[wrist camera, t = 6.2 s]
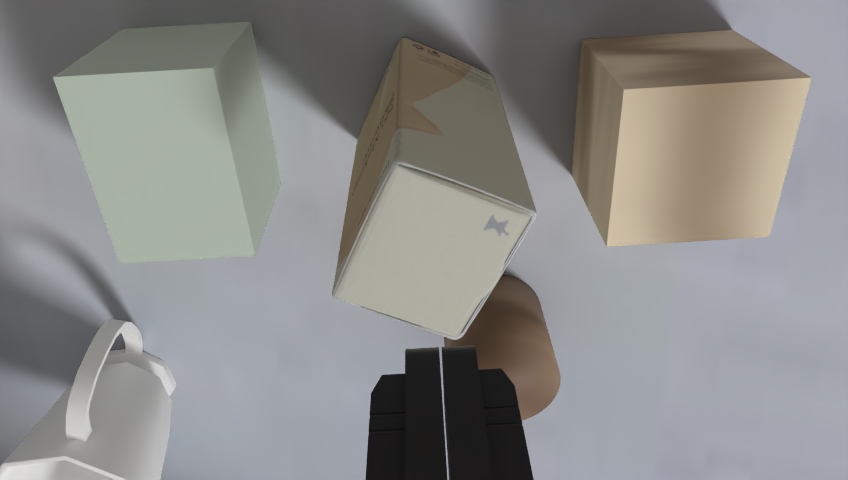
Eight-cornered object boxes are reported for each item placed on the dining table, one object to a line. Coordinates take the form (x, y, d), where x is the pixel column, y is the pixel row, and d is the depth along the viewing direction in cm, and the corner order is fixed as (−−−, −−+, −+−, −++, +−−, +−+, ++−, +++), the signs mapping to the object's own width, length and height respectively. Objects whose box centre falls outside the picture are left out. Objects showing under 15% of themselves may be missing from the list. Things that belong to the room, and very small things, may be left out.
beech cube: (571, 174, 29) (606, 246, 24) (581, 39, 26) (623, 89, 21) (705, 165, 29) (769, 236, 24) (731, 29, 26) (811, 77, 21)
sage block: (169, 188, 29) (119, 263, 24) (123, 28, 25) (52, 76, 20) (281, 181, 29) (255, 255, 24) (251, 20, 25) (213, 68, 20)
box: (401, 32, 26) (398, 148, 16) (498, 76, 27) (548, 208, 17) (353, 146, 28) (326, 303, 19) (443, 181, 29) (461, 348, 20)
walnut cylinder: (474, 364, 35) (483, 438, 31) (424, 303, 33) (426, 373, 28) (557, 324, 34) (579, 395, 29) (510, 257, 31) (527, 323, 27)
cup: (67, 412, 36) (-12, 548, 29) (60, 268, 31) (-38, 391, 24) (196, 432, 37) (149, 567, 30) (210, 295, 32) (157, 420, 25)
